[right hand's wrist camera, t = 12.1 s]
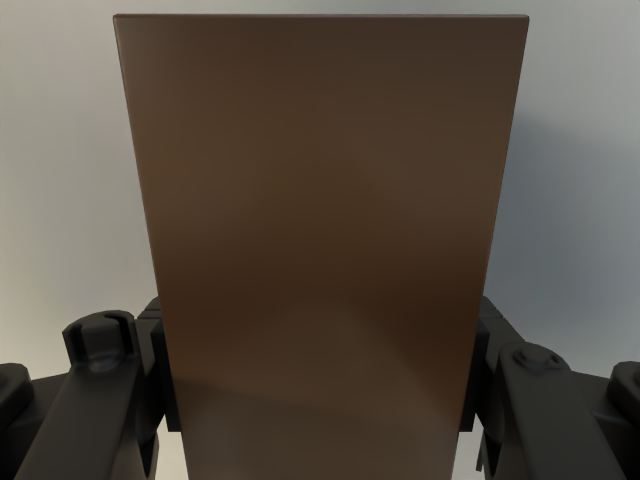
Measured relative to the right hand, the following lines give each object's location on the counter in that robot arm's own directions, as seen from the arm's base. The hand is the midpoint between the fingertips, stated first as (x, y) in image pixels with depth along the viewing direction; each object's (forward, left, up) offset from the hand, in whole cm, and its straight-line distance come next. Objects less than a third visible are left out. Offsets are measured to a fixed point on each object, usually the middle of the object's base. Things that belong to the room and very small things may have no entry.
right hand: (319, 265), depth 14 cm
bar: (+16, -29, -1) cm, 33 cm away
